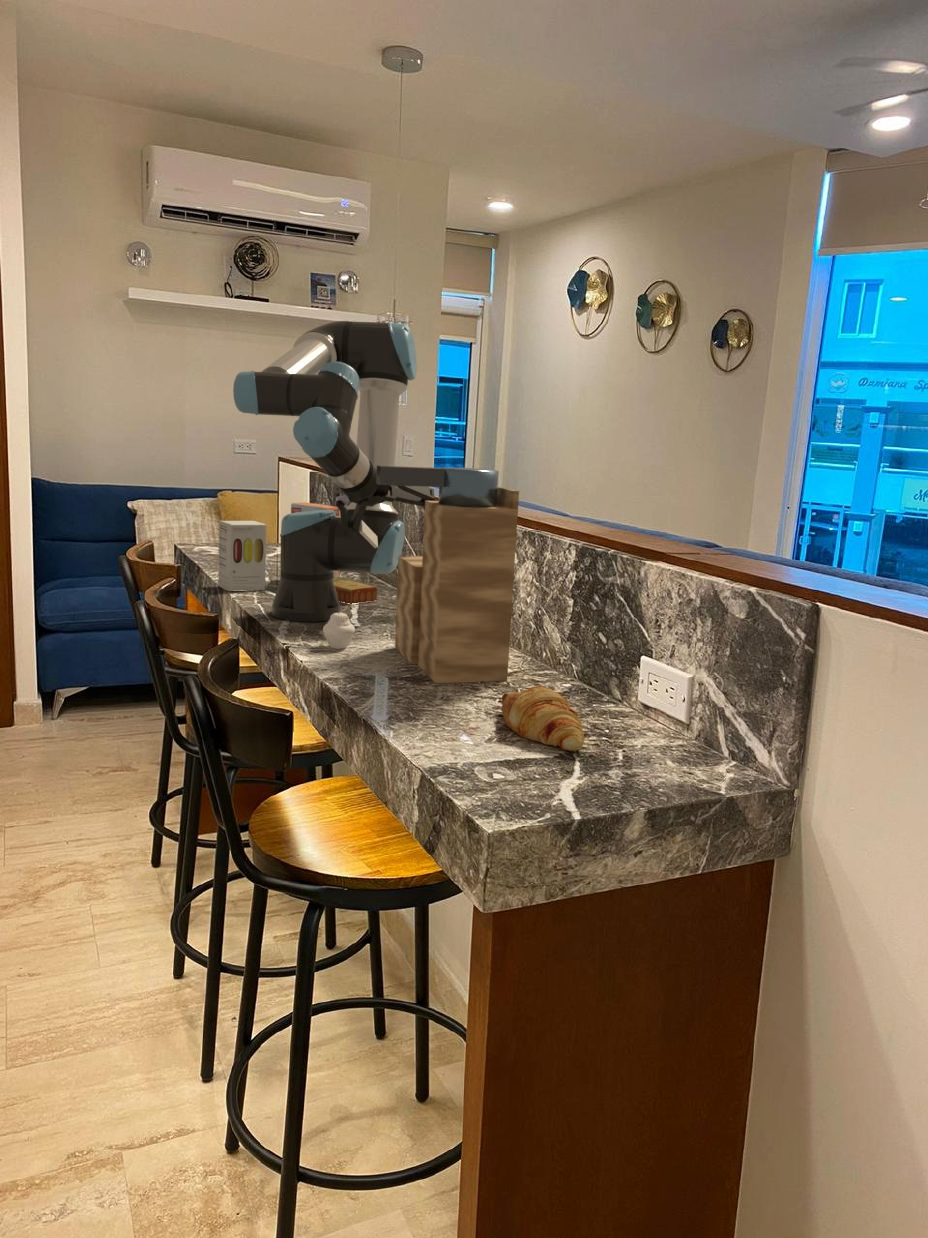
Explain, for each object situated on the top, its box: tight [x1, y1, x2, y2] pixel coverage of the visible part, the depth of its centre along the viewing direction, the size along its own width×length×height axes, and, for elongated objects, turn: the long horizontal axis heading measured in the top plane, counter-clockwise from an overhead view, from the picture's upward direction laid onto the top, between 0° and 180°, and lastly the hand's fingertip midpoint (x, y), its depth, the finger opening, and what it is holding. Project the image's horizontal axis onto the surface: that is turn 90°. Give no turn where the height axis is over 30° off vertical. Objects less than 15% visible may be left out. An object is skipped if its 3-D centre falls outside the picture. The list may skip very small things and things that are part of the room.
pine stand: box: [394, 485, 520, 684], centre depth 170 cm, size 26×14×33 cm, turn 17°
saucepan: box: [376, 465, 499, 508], centre depth 159 cm, size 10×21×6 cm, turn 107°
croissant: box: [501, 685, 585, 752], centre depth 137 cm, size 21×10×8 cm, turn 27°
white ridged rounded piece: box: [322, 612, 356, 650], centre depth 181 cm, size 6×6×7 cm
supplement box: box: [217, 520, 267, 592], centre depth 234 cm, size 10×9×17 cm
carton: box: [333, 577, 378, 604], centre depth 231 cm, size 8×16×4 cm, turn 44°
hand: (405, 531), depth 189 cm, fingers open, 13 cm apart
